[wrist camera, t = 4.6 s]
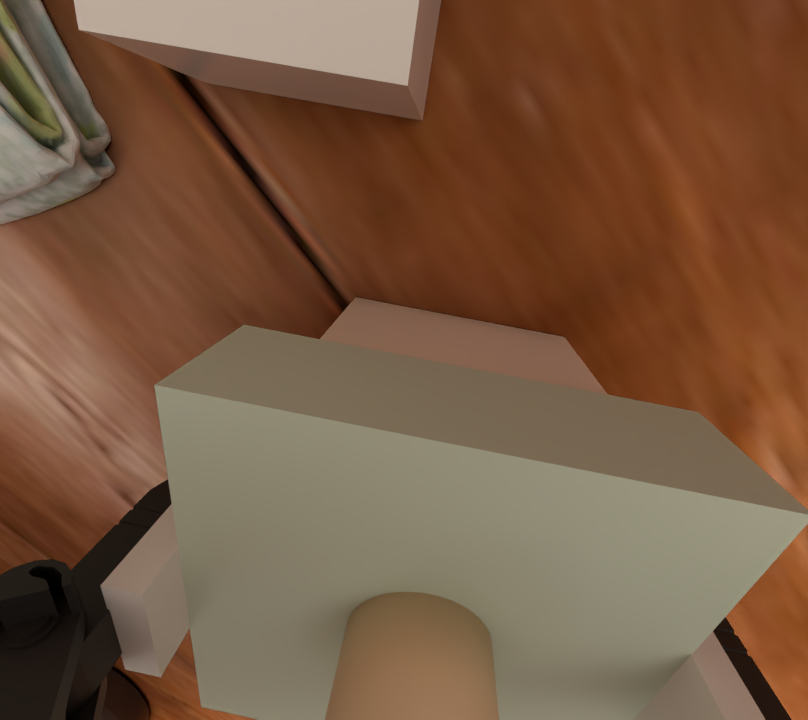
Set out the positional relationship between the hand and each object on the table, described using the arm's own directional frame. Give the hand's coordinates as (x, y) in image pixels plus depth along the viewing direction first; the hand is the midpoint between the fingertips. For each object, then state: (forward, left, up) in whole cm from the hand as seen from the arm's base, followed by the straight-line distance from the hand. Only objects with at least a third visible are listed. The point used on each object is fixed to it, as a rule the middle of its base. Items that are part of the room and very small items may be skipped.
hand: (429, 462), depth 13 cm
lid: (0, 0, +3) cm, 3 cm away
